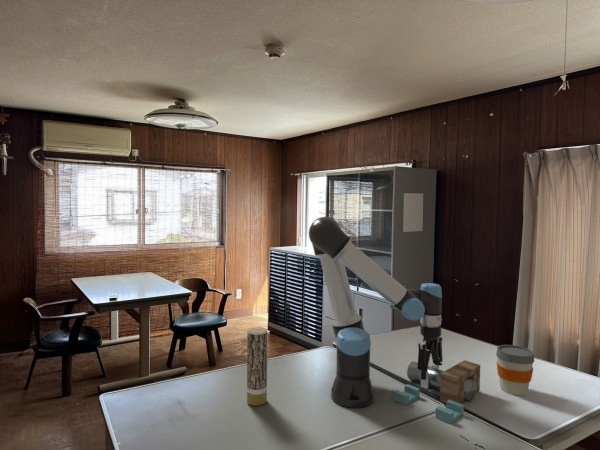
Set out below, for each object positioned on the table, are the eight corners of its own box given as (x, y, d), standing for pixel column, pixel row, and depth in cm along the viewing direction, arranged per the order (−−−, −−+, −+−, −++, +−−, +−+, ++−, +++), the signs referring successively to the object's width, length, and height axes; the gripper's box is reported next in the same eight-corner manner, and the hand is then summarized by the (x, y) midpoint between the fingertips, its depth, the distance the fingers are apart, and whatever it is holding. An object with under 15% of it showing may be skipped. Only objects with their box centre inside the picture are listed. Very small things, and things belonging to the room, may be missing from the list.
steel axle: (476, 398, 145) (477, 378, 145) (467, 403, 140) (468, 383, 140) (416, 377, 162) (417, 359, 162) (406, 381, 158) (407, 363, 158)
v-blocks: (450, 423, 127) (450, 414, 127) (393, 399, 142) (393, 391, 142) (463, 414, 133) (463, 405, 133) (407, 392, 148) (407, 384, 148)
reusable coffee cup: (487, 385, 155) (488, 346, 154) (512, 380, 159) (513, 343, 159) (515, 400, 143) (516, 358, 143) (541, 394, 148) (542, 354, 147)
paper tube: (248, 407, 135) (248, 333, 134) (245, 398, 142) (246, 327, 141) (268, 405, 137) (269, 332, 136) (264, 396, 144) (265, 326, 143)
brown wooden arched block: (456, 407, 137) (457, 378, 137) (440, 401, 142) (440, 373, 141) (479, 391, 150) (480, 364, 149) (463, 386, 154) (464, 360, 154)
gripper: (426, 332, 144) (425, 395, 145) (452, 321, 158) (451, 380, 158) (407, 327, 150) (406, 389, 150) (434, 318, 163) (434, 374, 164)
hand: (429, 384), depth 154 cm, fingers closed on steel axle, 7 cm apart
